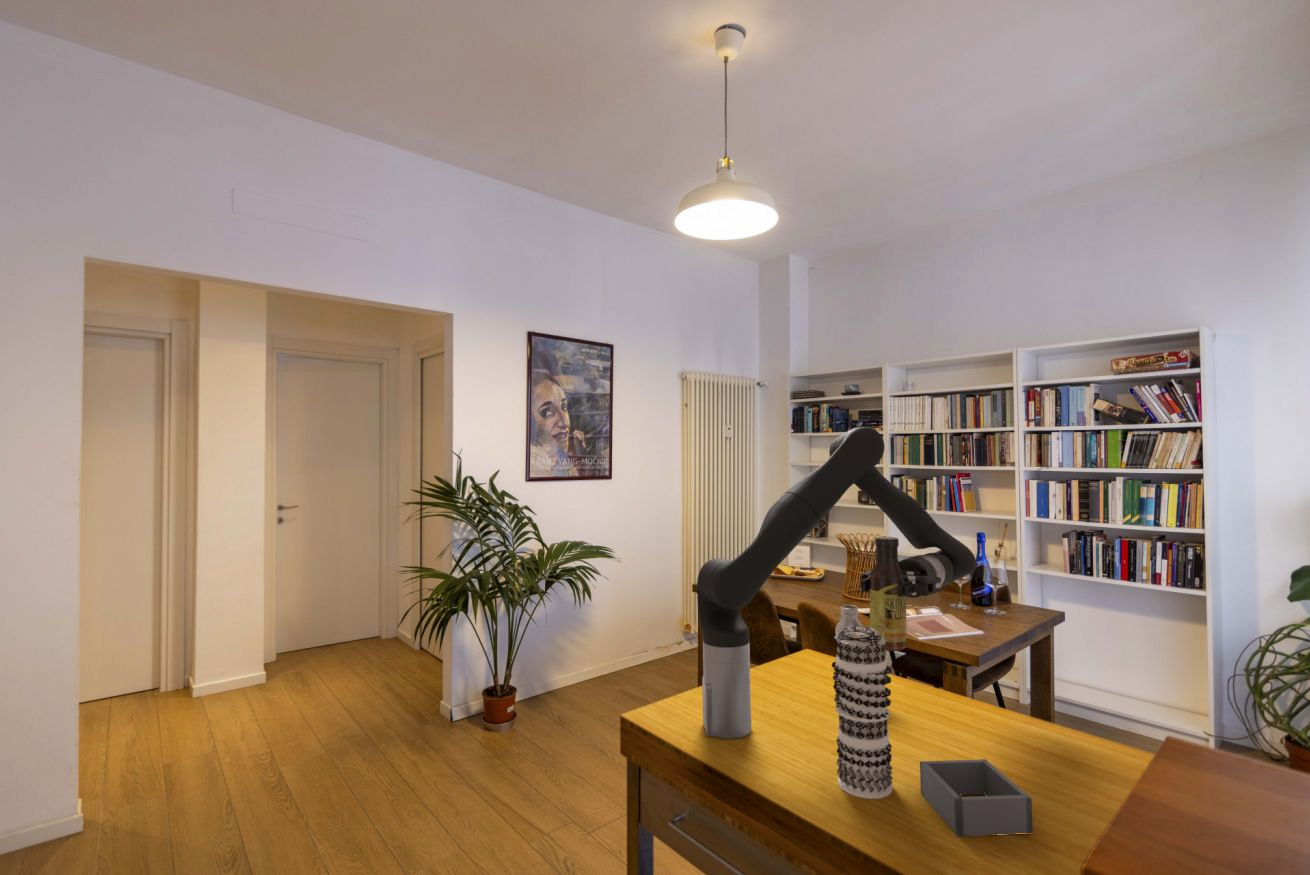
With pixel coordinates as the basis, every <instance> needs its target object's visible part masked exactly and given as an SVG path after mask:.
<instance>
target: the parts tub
mask: <svg viewBox="0 0 1310 875" xmlns="http://www.w3.org/2000/svg"><path fill="white" fill-rule="evenodd" d="M919 777H920V779H919V780H920V795H921V796H922V797H923V798H924V799H925V800H926V801H927V803H928V804H929V805H930V806H931V807H932V808H933V809H934V811H935V812H936V813H937V814H938V815H939V816H940V817H941V819H942V818H943V819H944V820H945V821H944V820H943V819H942V820H943V821H944V822H945V823H946V822H947V823H946V825H948V827H949V826H950V827H951V828H950V827H949V828H950V829H951V830H952V831H953V832H954V834H956V836H957V837H958V838H964V837H965V836H966V837H965V838H968V837H967V836H973V837H984V836H983V835H993V834H994V835H997V834H1014V833H1015V834H1016V833H1033V834H1034V825H1033V824H1034V823H1033V821H1034V820H1033V802H1032V801H1033V800H1032V796H1030V795H1029V794H1027V792H1026V791H1025V790H1023V789H1022V788H1021V787H1019V786H1018V785H1017V784H1016V783H1015V782H1014V781H1012V780H1011V779H1010V778H1009V777H1007V776H1006V775H1005V774H1004V773H1003V772H1001V771H1000V770H999V769H998V768H997V767H996V766H994V765H993V764H992V763H991V762H989V761H988V760H987V759H986V758H985V759H984V758H982V759H956V760H954V759H953V760H951V759H950V760H949V759H948V760H926V761H925V760H923V761H922V760H921V761H919ZM984 793H985V794H986V795H987V796H986V795H985V794H984ZM960 794H961V795H960ZM963 794H964V795H963ZM968 794H981V795H982V796H981V795H980V796H978V795H976V796H969V795H968ZM981 835H982V836H981Z"/></svg>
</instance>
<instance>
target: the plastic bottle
mask: <svg viewBox="0 0 1310 875" xmlns="http://www.w3.org/2000/svg"><path fill="white" fill-rule="evenodd" d="M858 608H859V607H858V606H856V605H851V604H845V605H841V607H840V616H841V618H840V619H839V621H838V622H837V624H836V626H835V629H834V630H835V636H836V635H838V634H839V633H840V631H841V630H842V629H843V628H845V627H848V626H863V624H862V623H861V621H860V620H859V619H858V617H859V612H858V610H859V609H858ZM838 679H839V675H838ZM838 687H839V686H837V688H838Z"/></svg>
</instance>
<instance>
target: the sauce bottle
mask: <svg viewBox="0 0 1310 875" xmlns="http://www.w3.org/2000/svg"><path fill="white" fill-rule="evenodd" d="M899 543H900V542H899V538H898V537H894V536H877V537H875V538H874V544H875V547H876V548H875V550H876V551H875V552H876V553H875V555H876V558H875V562H876V563H875V564H874V566H873V567H872V569H871V570H872V571H871V574H870V591H869V627H870V628H873V629H875V630H877V631H878V632H879V633H880V635H881V637H883V638H884V639H886V643H885V652H887V651H888V652H900V651H902V650H904V649H906V647H907V597H906V596H905V597H899V596H898V584H901V583H903V582H905V581H904V578H903V575H902V572H901V569H900V566H899V563H898V561H899V558H898V557H899V556H898V555H899V551H898V547H899V545H900V544H899Z"/></svg>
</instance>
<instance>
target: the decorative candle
mask: <svg viewBox="0 0 1310 875" xmlns="http://www.w3.org/2000/svg"><path fill="white" fill-rule="evenodd" d="M833 639H834V640H836V650H837V651H836V655H835V661H833V662H832V663H831V667H832V668H833V676H832V679H833V683H834V684H833V685H832V687H833V689H834V692H835V694H834V700H833V701H834V702H835V705H836V706H835V711H836V713H837V714H838V724H839V725H838V727H837V730H838V732H837V735H838V736H837V739H836V740H835V741H836V744H837V749H836V753H837V756H838V757H837V760H836V765H837V771H836V773H837V776H838V781H837V784H838V786H839V788H840V789H841V790H843V791H844V792H846V793H847V794H848V795H851V796H854V797H857V798H861V799H867V800H879V799H883V798H886V797H889V795H891V794H892V793H893V776H892V774H893V771H892V770H893V766H892V765H891V762H892V755H893V754H891V751H892V748H893V747H892V744H891V743H890V738H889V737H890V736H889V735H890V734H889V730H888V719H890V714H891V713H890V712H891V711H890V710H889V708H888V707H889V706H891V704H892V701H891V700H890V698H888V697H890V696H891V695H892V691H891V689H890V688H889V687H888V686H887V685H889V684H890V683H892V678H891V677H890V676H889V674H891V673H892V668H891V666H889V665H887V658H886V653H885V652H886V651H885V643H886V639H884V638H883V637H881V635H880V633H879V632H878V631H877V630H875V629H873V628H870V626H865V625H862V626H848V627H845V628H843V629H842V630H841V631H840V633H839V634H838V635H836V634H835V636H834V638H833ZM838 675H839V679H838ZM837 686H839V687H838V688H837Z"/></svg>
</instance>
